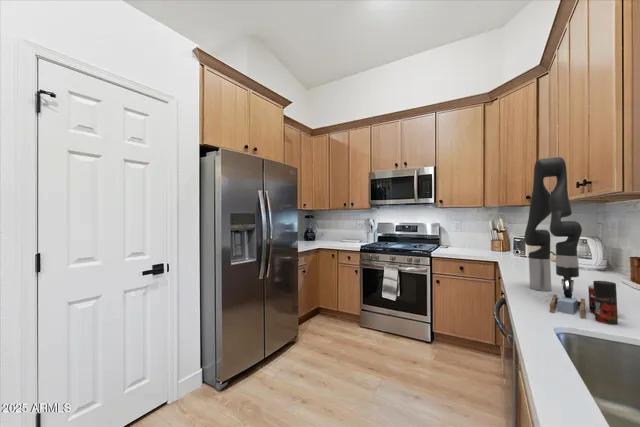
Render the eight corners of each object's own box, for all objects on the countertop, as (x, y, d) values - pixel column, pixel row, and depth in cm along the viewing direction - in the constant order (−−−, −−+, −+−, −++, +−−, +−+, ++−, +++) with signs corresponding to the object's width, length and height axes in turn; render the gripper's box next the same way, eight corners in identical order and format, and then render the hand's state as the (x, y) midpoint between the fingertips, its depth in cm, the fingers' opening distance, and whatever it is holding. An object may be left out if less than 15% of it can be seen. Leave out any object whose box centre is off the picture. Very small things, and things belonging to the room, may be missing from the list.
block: (562, 307, 117) (561, 296, 117) (577, 310, 113) (577, 299, 113) (557, 311, 112) (556, 300, 112) (573, 315, 108) (572, 302, 108)
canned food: (591, 309, 114) (590, 283, 114) (619, 314, 108) (617, 287, 108) (587, 313, 110) (586, 286, 110) (615, 318, 103) (614, 290, 103)
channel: (554, 301, 125) (553, 294, 125) (585, 306, 117) (584, 298, 117) (550, 312, 111) (549, 304, 112) (584, 318, 104) (584, 309, 104)
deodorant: (591, 319, 103) (589, 281, 103) (600, 317, 104) (599, 280, 105) (612, 325, 97) (610, 284, 97) (621, 323, 99) (619, 283, 99)
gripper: (556, 262, 126) (558, 298, 125) (554, 266, 116) (556, 305, 116) (578, 264, 120) (580, 302, 120) (578, 268, 111) (580, 309, 111)
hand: (568, 303), depth 118 cm, fingers closed
